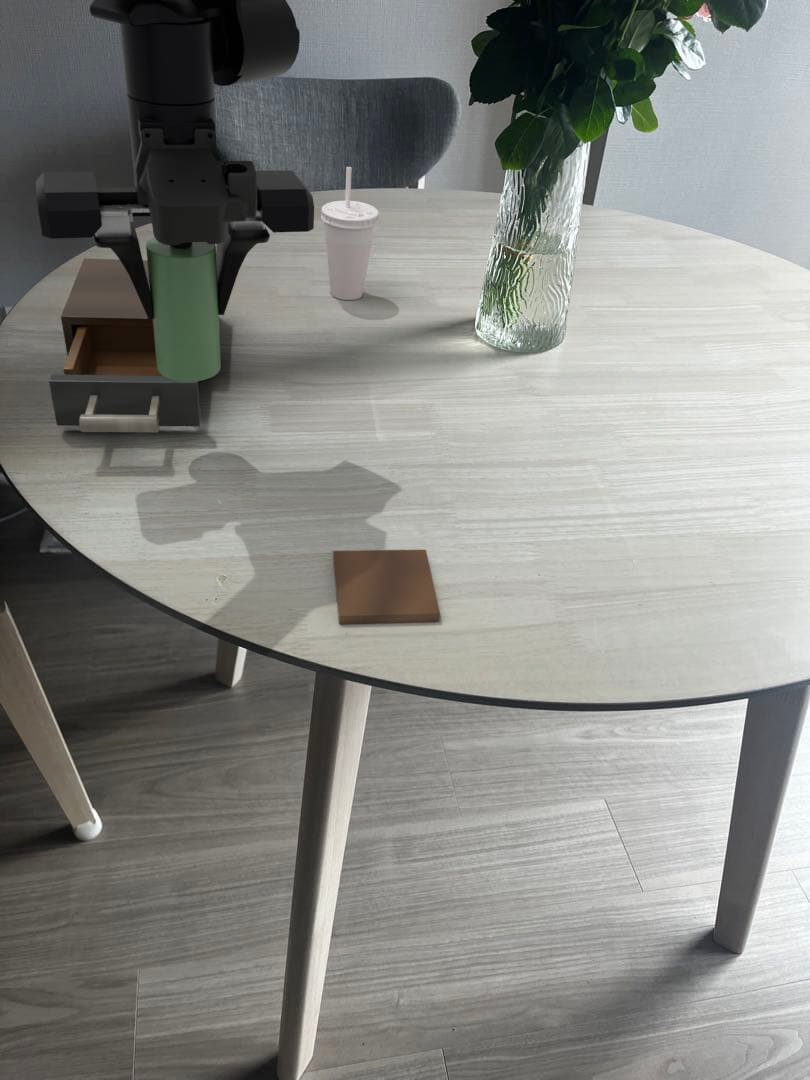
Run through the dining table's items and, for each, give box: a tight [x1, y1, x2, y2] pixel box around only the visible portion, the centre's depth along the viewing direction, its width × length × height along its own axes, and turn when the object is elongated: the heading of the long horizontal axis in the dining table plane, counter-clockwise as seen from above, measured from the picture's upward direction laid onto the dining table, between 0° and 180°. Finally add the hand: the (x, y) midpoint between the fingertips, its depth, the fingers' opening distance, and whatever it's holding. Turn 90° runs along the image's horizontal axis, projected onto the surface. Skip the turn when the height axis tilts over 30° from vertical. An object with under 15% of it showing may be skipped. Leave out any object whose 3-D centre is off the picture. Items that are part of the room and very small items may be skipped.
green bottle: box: [145, 236, 222, 382], centre depth 69 cm, size 5×5×11 cm
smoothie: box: [320, 166, 380, 301], centre depth 100 cm, size 6×6×14 cm
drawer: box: [48, 325, 201, 433], centre depth 79 cm, size 17×12×4 cm
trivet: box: [332, 549, 441, 625], centre depth 65 cm, size 7×7×1 cm
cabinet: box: [60, 257, 214, 380], centre depth 89 cm, size 14×13×6 cm
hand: (185, 315), depth 69 cm, fingers closed on green bottle, 5 cm apart
